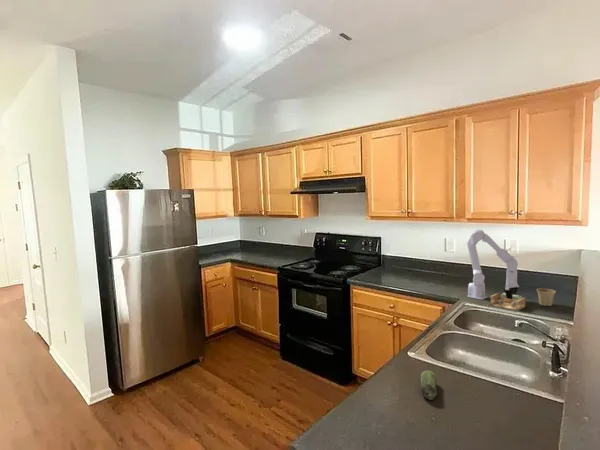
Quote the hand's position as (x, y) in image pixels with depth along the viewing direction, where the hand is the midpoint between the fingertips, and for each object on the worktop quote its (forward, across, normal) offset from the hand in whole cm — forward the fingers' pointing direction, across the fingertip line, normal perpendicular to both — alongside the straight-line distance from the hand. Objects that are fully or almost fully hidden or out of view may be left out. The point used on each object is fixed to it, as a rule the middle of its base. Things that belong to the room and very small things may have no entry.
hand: (511, 299), depth 212 cm
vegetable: (+2, -129, -19) cm, 130 cm away
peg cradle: (+1, -12, -2) cm, 12 cm away
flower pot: (+2, +8, -16) cm, 18 cm away
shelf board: (+1, 0, 0) cm, 1 cm away
